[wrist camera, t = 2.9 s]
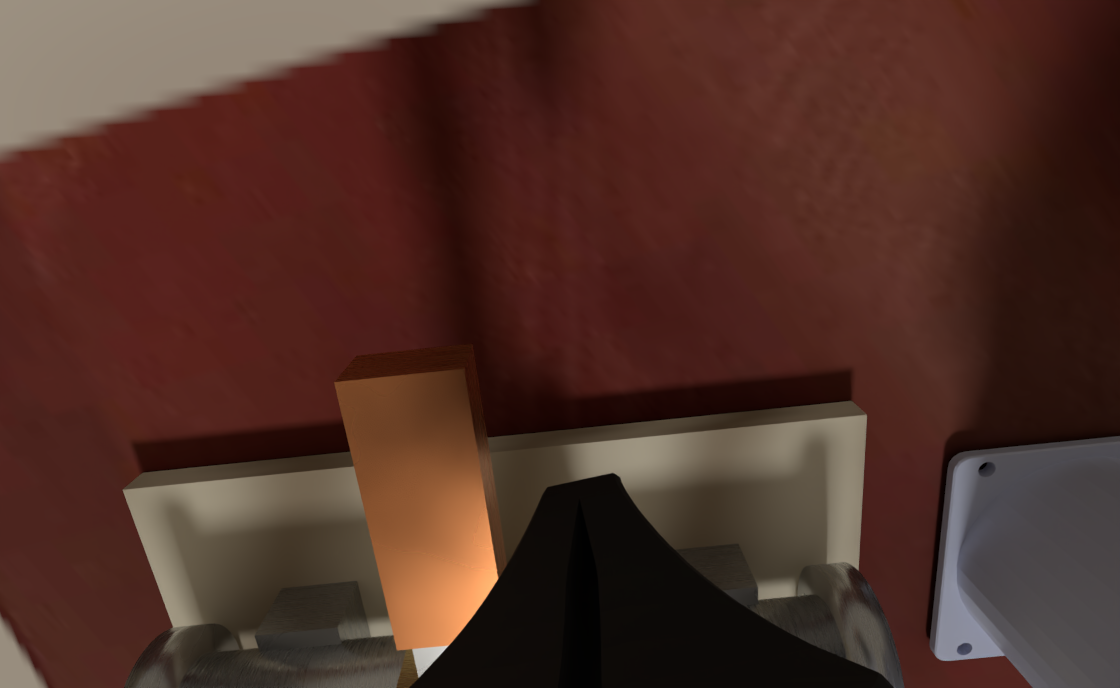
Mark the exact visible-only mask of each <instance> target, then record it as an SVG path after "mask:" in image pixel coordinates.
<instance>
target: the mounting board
mask: <svg viewBox="0 0 1120 688" xmlns="http://www.w3.org/2000/svg"><path fill="white" fill-rule="evenodd" d="M866 423H867V414H866V413H865V412H863V411H862V410H861V409H860V408H859V407H858V406H857V405H856V404H855V403H853V402H852V401H845V402H835V403H825V404H815V405H805V406H795V407H785V408H776V409H766V410H756V411H746V412H736V413H726V414H716V415H707V416H697V417H687V418H677V419H667V420H657V421H647V422H637V423H628V424H618V425H608V426H598V427H588V428H578V429H568V430H559V431H549V432H539V433H529V434H519V435H509V436H499V437H490V438H488V444H489V451H490V457H491V464H492V470H493V476H494V483H495V489H496V496H497V502H498V509H499V515H500V521H501V528H502V534H503V541H504V547H505V553H506V560H507V564H508V562H509V560H510V559H511V557H512V555H513V553H514V551H515V549H516V547H517V546H518V544H519V542H520V540H521V538H522V536H523V535H524V533H525V531H526V529H527V527H528V525H529V523H530V521H531V519H532V516H533V514H534V512H535V510H536V508H537V506H538V503H539V501H540V499H541V497H542V494H543V493H544V491H545V490H546V488H547V487H550V486H554V485H559V484H563V483H568V482H573V481H577V480H582V479H586V478H591V477H596V476H600V475H605V474H610V473H614V474H616V475H617V476H619V477H620V478H621V481H622V484H623V486H624V488H625V489H626V491H627V493H628V494H629V496H630V498H631V499H632V500H633V502H634V503H635V505H636V506H637V508H638V509H639V510H640V511H641V513H642V514H643V515H644V517H645V518H646V519H647V520H648V521H649V522H650V524H651V525H652V526H653V527H654V528H655V529H656V531H657V532H658V533H659V534H660V535H661V536H662V537H663V538H664V539H665V540H666V541H667V542H668V544H669V545H670V546H672V547H673V548H674V549H675V550H676V549H687V548H697V547H707V546H717V545H727V544H739V546H740V548H741V551H742V553H743V555H744V557H745V559H746V562H747V564H748V566H749V568H750V570H751V573H752V575H753V577H754V579H755V581H756V584H757V586H758V600H760V599H770V598H781V597H791V596H797V593H798V582H799V577H800V574H801V572H802V570H803V568H804V567H806V566H809V565H818V564H828V563H839V562H846V563H849V564H851V565H852V566H854V567H855V568H856V569H857V570H858V568H859V550H860V532H861V514H862V496H863V478H864V460H865V441H866ZM123 492H124V495H125V498H126V500H127V503H128V506H129V509H130V511H131V514H132V517H133V519H134V522H135V525H136V528H137V530H138V533H139V536H140V538H141V541H142V544H143V546H144V549H145V552H146V555H147V557H148V560H149V563H150V565H151V568H152V571H153V573H154V576H155V579H156V582H157V584H158V587H159V590H160V592H161V595H162V598H163V601H164V603H165V606H166V609H167V611H168V614H169V617H170V619H171V622H172V625H173V628H174V627H180V626H190V625H201V624H213V623H216V624H220V625H222V626H224V627H226V628H227V629H228V630H229V631H230V632H231V633H232V635H233V636H234V638H235V640H236V641H237V644H238V646H239V649H240V650H241V649H252V648H258V646H257V642H256V639H255V634H256V632H257V630H258V629H259V627H260V625H261V623H262V622H263V620H264V618H265V616H266V615H267V613H268V611H269V610H270V608H271V606H272V604H273V603H274V601H275V599H276V597H277V596H278V594H279V592H280V590H281V589H282V588H288V587H299V586H309V585H319V584H329V583H339V582H350V581H357V582H358V586H359V590H360V594H361V598H362V602H363V606H364V610H365V614H366V618H367V623H368V627H369V631H370V635H371V637H376V636H387V635H393V631H392V627H391V623H390V618H389V614H388V610H387V606H386V601H385V597H384V593H383V589H382V584H381V580H380V576H379V571H378V567H377V563H376V559H375V554H374V550H373V546H372V542H371V537H370V533H369V529H368V524H367V520H366V516H365V512H364V507H363V503H362V499H361V494H360V490H359V486H358V482H357V477H356V473H355V469H354V465H353V460H352V456H351V452H342V453H332V454H322V455H312V456H302V457H292V458H282V459H273V460H263V461H253V462H243V463H233V464H223V465H213V466H203V467H194V468H184V469H174V470H164V471H154V472H144V473H142V474H141V475H139V476H138V477H137V478H136V479H135V480H134V481H132V482H131V483H130V484H129V485H128V486H127V487H125V488H124V489H123Z"/></svg>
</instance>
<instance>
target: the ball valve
mask: <svg viewBox="0 0 1120 688" xmlns="http://www.w3.org/2000/svg"><path fill="white" fill-rule="evenodd" d="M676 551H677V552H678V553H679V554H680V555H681V556H682V557H683V558H684V559H685V560H686V561H687V562H688V563H689V564H690V565H692V566H693V567H694V568H695V569H696V570H697V571H698V572H700V573H701V574H702V575H703V576H704V577H706V578H707V579H708V580H709V581H711V582H712V583H713V584H714V585H716V586H717V587H718V588H720V589H721V590H722V591H724V592H725V593H727V594H728V595H729V596H731V597H732V598H733V599H735V600H736V601H738V602H739V603H740V604H742V605H743V606H745V607H747V608H748V609H750V610H752V611H753V612H755V613H757V614H758V615H760V616H761V617H763V618H765V619H766V620H768V621H770V622H771V623H773V624H775V625H776V626H778V627H779V628H781V629H783V630H785V631H787V632H789V633H790V634H792V635H794V636H796V637H798V638H800V639H802V640H804V641H806V642H808V643H810V644H812V645H814V646H816V647H819V648H821V649H824V650H826V651H828V652H831V653H833V654H836V655H838V656H840V657H843V658H845V659H848V660H850V661H852V662H855V663H857V664H860V665H862V666H865V667H867V668H869V669H872V670H874V671H877V672H879V673H880V674H882V675H883V676H884V677H885V678H886V679H887V680H888V681H889V683H890V684H891V685H892V686H893V687H894V688H904V684H903V678H902V672H901V667H900V662H899V658H898V654H897V650H896V646H895V643H894V640H893V637H892V633H891V631H890V628H889V625H888V622H887V620H886V617H885V615H884V612H883V610H882V608H881V606H880V604H879V601H878V599H877V597H876V596H875V594H874V592H873V590H872V588H871V587H870V585H869V584H868V582H867V581H866V579H865V578H864V577H863V575H862V574H861V573H860V572H859V571H858V570H857V569H856V568H855V567H854V566H852V565H851V564H849V563H846V562H839V563H828V564H818V565H809V566H806V567H804V568H803V570H802V572H801V574H800V577H799V582H798V593H797V596H791V597H781V598H770V599H760V600H758V586H757V584H756V581H755V579H754V577H753V575H752V573H751V570H750V568H749V566H748V564H747V562H746V559H745V557H744V555H743V553H742V551H741V548H740V546H739V544H727V545H717V546H707V547H697V548H687V549H676ZM255 639H256V642H257V646H258V648H252V649H241V650H240V649H239V646H238V644H237V641H236V640H235V638H234V636H233V635H232V633H231V632H230V631H229V630H228V629H227V628H226V627H224V626H222V625H220V624H216V623H213V624H201V625H190V626H180V627H174V628H171V629H169V630H167V631H165V632H163V633H162V634H160V635H159V636H157V637H156V638H155V639H154V640H153V641H152V642H151V643H150V644H149V645H148V647H147V648H146V649H145V650H144V651H143V653H142V654H141V656H140V657H139V659H138V660H137V662H136V664H135V665H134V667H133V669H132V671H131V673H130V675H129V677H128V679H127V681H126V684H125V687H124V688H409V687H410V686H411V685H412V684H413V683H414V682H415V681H416V680H417V679H418V678H419V677H418V673H417V668H416V664H415V660H414V655H413V651H412V649H408V650H397V648H396V644H395V640H394V636H393V635H387V636H376V637H371V635H370V631H369V627H368V623H367V618H366V614H365V610H364V606H363V602H362V598H361V594H360V590H359V586H358V582H357V581H350V582H339V583H329V584H319V585H309V586H299V587H288V588H282V589H281V590H280V592H279V594H278V596H277V597H276V599H275V601H274V603H273V604H272V606H271V608H270V610H269V611H268V613H267V615H266V616H265V618H264V620H263V622H262V623H261V625H260V627H259V629H258V630H257V632H256V634H255Z"/></svg>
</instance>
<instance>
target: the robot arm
mask: <svg viewBox="0 0 1120 688" xmlns="http://www.w3.org/2000/svg"><path fill="white" fill-rule="evenodd" d="M986 462H987V465H986V467H984V468H983V469H982V470H979V468H980V466H981V465H982V464H983V463H986ZM978 470H979V471H978ZM961 644H962V645H961ZM930 649H931V650H932V651H933V653H934V654H935V655H936V657H937V658H938V659H940V660H944V661H952V660H962V659H973V658H983V657H994V656H1006V657H1007V658H1008V659H1009V660H1010V662H1011V663H1012V664H1013V665H1014V666H1015V667H1016V668H1017V670H1018V671H1019V672H1020V673H1021V674H1022V675H1023V677H1024V678H1025V679H1026V680H1027V681H1028V682H1029V684H1030V685H1031V686H1032V687H1033V688H1120V436H1115V437H1105V438H1095V439H1085V440H1075V441H1065V442H1055V443H1045V444H1034V445H1024V446H1014V447H1004V448H994V449H984V450H974V451H965V452H961V453H958V454H957V455H955V456H954V457H953V458H952V459H951V460H950V462H949V465H948V470H947V479H946V489H945V499H944V509H943V518H942V528H941V538H940V547H939V557H938V567H937V577H936V586H935V596H934V606H933V616H932V625H931V635H930ZM409 688H894V687H893V686H892V685H891V684H890V683H889V681H888V680H887V679H886V678H885V677H884V676H883V675H882V674H880V673H879V672H877V671H874V670H872V669H869V668H867V667H865V666H862V665H860V664H857V663H855V662H852V661H850V660H848V659H845V658H843V657H840V656H838V655H836V654H833V653H831V652H828V651H826V650H824V649H821V648H819V647H816V646H814V645H812V644H810V643H808V642H806V641H804V640H802V639H800V638H798V637H796V636H794V635H792V634H790V633H789V632H787V631H785V630H783V629H781V628H779V627H778V626H776V625H775V624H773V623H771V622H770V621H768V620H766V619H765V618H763V617H761V616H760V615H758V614H757V613H755V612H753V611H752V610H750V609H748V608H747V607H745V606H743V605H742V604H740V603H739V602H738V601H736V600H735V599H733V598H732V597H731V596H729V595H728V594H727V593H725V592H724V591H722V590H721V589H720V588H718V587H717V586H716V585H714V584H713V583H712V582H711V581H709V580H708V579H707V578H706V577H704V576H703V575H702V574H701V573H700V572H698V571H697V570H696V569H695V568H694V567H693V566H692V565H690V564H689V563H688V562H687V561H686V560H685V559H684V558H683V557H682V556H681V555H680V554H679V553H678V552H677V551H676V550H675V549H674V548H673V547H672V546H670V545H669V544H668V542H667V541H666V540H665V539H664V538H663V537H662V536H661V535H660V534H659V533H658V532H657V531H656V529H655V528H654V527H653V526H652V525H651V524H650V522H649V521H648V520H647V519H646V518H645V517H644V515H643V514H642V513H641V511H640V510H639V509H638V508H637V506H636V505H635V503H634V502H633V500H632V499H631V498H630V496H629V494H628V493H627V491H626V489H625V488H624V486H623V484H622V481H621V478H620V477H619V476H617V475H616V474H614V473H610V474H605V475H600V476H596V477H591V478H586V479H582V480H577V481H573V482H568V483H563V484H559V485H554V486H550V487H547V488H546V490H545V491H544V493H543V494H542V497H541V499H540V501H539V503H538V506H537V508H536V510H535V512H534V514H533V516H532V519H531V521H530V523H529V525H528V527H527V529H526V531H525V533H524V535H523V536H522V538H521V540H520V542H519V544H518V546H517V547H516V549H515V551H514V553H513V555H512V557H511V559H510V560H509V562H508V564H507V565H506V567H505V569H504V570H503V572H502V573H501V575H500V577H499V578H498V580H497V581H496V583H495V584H494V586H493V588H492V589H491V591H490V592H489V594H488V596H487V597H486V598H485V600H484V601H483V603H482V604H481V606H480V607H479V608H478V610H477V611H476V613H475V614H474V615H473V617H472V618H471V619H470V621H469V622H468V623H467V624H466V626H465V627H464V628H463V630H462V631H461V632H460V633H459V634H458V636H457V637H456V638H455V639H454V640H453V642H452V643H451V644H450V645H449V646H448V647H447V648H446V649H445V650H444V651H443V652H442V653H441V655H440V656H439V657H438V658H437V659H436V660H435V661H434V662H433V663H432V664H431V665H430V666H429V667H428V669H427V670H426V671H425V672H424V673H423V674H422V675H421V676H420V677H419V678H418V679H417V680H416V681H415V682H414V683H413V684H412V685H411V686H410V687H409Z"/></svg>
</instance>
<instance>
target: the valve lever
mask: <svg viewBox="0 0 1120 688" xmlns="http://www.w3.org/2000/svg"><path fill="white" fill-rule="evenodd" d="M334 383H335V388H336V392H337V396H338V400H339V405H340V409H341V413H342V417H343V422H344V426H345V430H346V435H347V439H348V443H349V447H350V452H351V456H352V460H353V465H354V469H355V473H356V477H357V482H358V486H359V490H360V494H361V499H362V503H363V507H364V512H365V516H366V520H367V524H368V529H369V533H370V537H371V542H372V546H373V550H374V554H375V559H376V563H377V567H378V571H379V576H380V580H381V584H382V589H383V593H384V597H385V601H386V606H387V610H388V614H389V618H390V623H391V627H392V631H393V636H394V640H395V644H396V648H397V650H408V649H412V651H413V655H414V660H415V664H416V668H417V673H418V677H420V676H421V675H422V674H423V673H424V672H425V671H426V670H427V669H428V667H429V666H430V665H431V664H432V663H433V662H434V661H435V660H436V659H437V658H438V657H439V656H440V655H441V653H442V652H443V651H444V650H445V649H446V648H447V647H448V646H449V645H450V644H451V643H452V642H453V640H454V639H455V638H456V637H457V636H458V634H459V633H460V632H461V631H462V630H463V628H464V627H465V626H466V624H467V623H468V622H469V621H470V619H471V618H472V617H473V615H474V614H475V613H476V611H477V610H478V608H479V607H480V606H481V604H482V603H483V601H484V600H485V598H486V597H487V596H488V594H489V592H490V591H491V589H492V588H493V586H494V584H495V583H496V581H497V580H498V578H499V577H500V575H501V573H502V572H503V570H504V569H505V567H506V565H507V560H506V553H505V547H504V541H503V534H502V528H501V521H500V515H499V509H498V502H497V496H496V489H495V483H494V476H493V470H492V464H491V457H490V451H489V444H488V438H487V431H486V425H485V419H484V412H483V406H482V399H481V393H480V386H479V380H478V374H477V367H476V361H475V354H474V348H473V344H464V345H454V346H445V347H435V348H425V349H416V350H406V351H396V352H387V353H377V354H368V355H358V356H356V357H355V358H354V359H353V360H352V362H351V363H350V364H349V365H348V366H347V368H346V369H345V370H344V371H343V372H342V374H341V375H340V376H339V377H338V378H337V380H336V381H335V382H334Z"/></svg>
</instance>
